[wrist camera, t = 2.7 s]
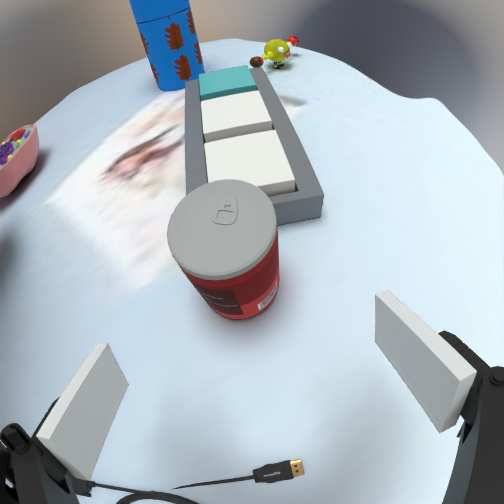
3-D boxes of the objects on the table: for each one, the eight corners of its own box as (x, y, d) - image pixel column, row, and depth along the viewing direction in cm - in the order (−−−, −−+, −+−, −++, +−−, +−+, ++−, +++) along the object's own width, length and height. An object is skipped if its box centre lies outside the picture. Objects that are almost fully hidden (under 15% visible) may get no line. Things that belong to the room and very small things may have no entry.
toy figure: (268, 85, 47) (266, 54, 41) (244, 80, 49) (240, 51, 43) (307, 56, 53) (307, 32, 47) (286, 52, 55) (285, 28, 49)
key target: (204, 113, 41) (200, 95, 38) (202, 90, 45) (198, 74, 42) (257, 102, 41) (255, 84, 38) (249, 81, 45) (246, 65, 42)
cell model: (49, 178, 42) (19, 137, 32) (-12, 226, 40) (-44, 196, 30) (56, 136, 50) (34, 101, 40) (-1, 179, 48) (-24, 151, 38)
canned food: (276, 245, 30) (271, 172, 21) (282, 318, 27) (282, 270, 17) (205, 252, 31) (172, 184, 21) (203, 323, 27) (160, 280, 17)
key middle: (209, 154, 36) (203, 133, 32) (205, 119, 40) (200, 101, 37) (273, 141, 35) (271, 120, 32) (260, 109, 40) (258, 90, 37)
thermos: (210, 66, 54) (190, -28, 32) (197, 88, 49) (170, -22, 27) (167, 72, 56) (141, -15, 34) (150, 94, 51) (116, -5, 29)
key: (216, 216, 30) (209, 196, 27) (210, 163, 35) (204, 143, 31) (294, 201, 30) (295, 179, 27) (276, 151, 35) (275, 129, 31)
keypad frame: (197, 242, 32) (187, 221, 28) (190, 99, 47) (185, 82, 44) (320, 217, 31) (324, 194, 28) (263, 84, 47) (261, 67, 44)
